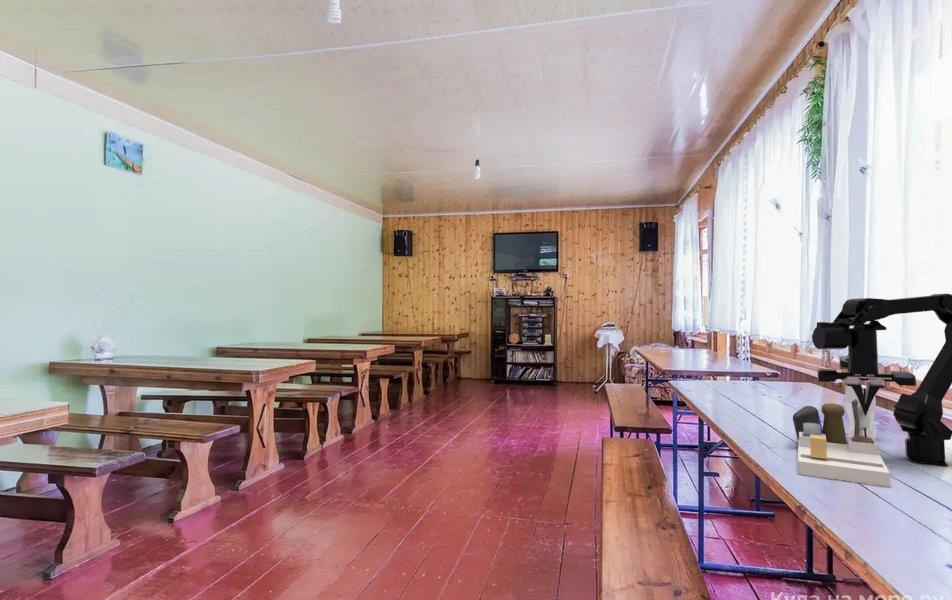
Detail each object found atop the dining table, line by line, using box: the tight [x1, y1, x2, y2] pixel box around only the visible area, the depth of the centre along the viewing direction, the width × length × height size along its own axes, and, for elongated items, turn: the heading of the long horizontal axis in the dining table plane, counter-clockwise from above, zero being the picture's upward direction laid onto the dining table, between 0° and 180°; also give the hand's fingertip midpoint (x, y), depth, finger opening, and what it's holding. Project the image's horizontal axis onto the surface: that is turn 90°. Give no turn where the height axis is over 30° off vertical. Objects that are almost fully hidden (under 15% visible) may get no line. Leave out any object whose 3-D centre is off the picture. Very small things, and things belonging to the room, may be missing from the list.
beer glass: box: [844, 384, 877, 440], centre depth 140 cm, size 7×7×15 cm
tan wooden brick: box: [810, 434, 827, 459], centre depth 113 cm, size 3×4×4 cm
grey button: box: [803, 423, 822, 437], centre depth 124 cm, size 4×4×3 cm
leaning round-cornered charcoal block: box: [792, 405, 823, 441], centre depth 135 cm, size 16×5×9 cm, turn 136°
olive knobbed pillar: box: [821, 402, 847, 445], centre depth 136 cm, size 6×6×11 cm
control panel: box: [797, 432, 891, 488], centre depth 116 cm, size 16×22×6 cm
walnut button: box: [853, 436, 872, 444], centre depth 118 cm, size 4×4×3 cm
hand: (865, 411), depth 121 cm, fingers closed
